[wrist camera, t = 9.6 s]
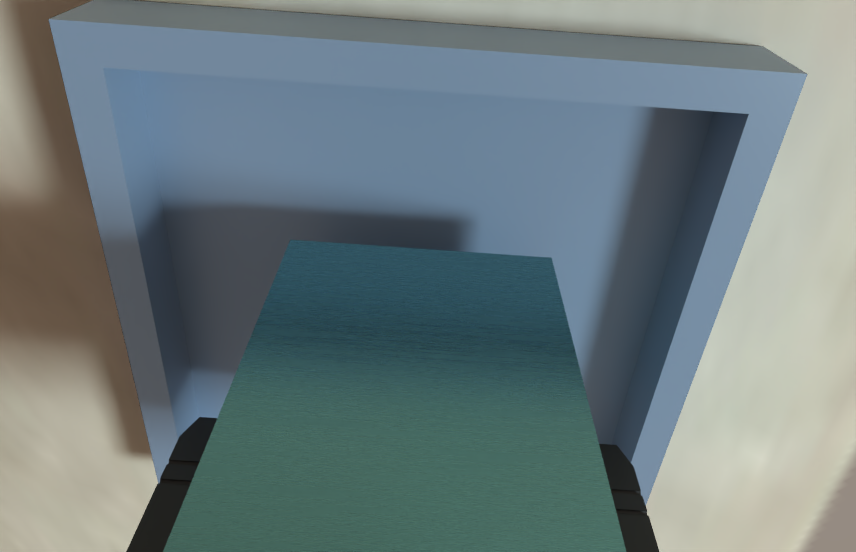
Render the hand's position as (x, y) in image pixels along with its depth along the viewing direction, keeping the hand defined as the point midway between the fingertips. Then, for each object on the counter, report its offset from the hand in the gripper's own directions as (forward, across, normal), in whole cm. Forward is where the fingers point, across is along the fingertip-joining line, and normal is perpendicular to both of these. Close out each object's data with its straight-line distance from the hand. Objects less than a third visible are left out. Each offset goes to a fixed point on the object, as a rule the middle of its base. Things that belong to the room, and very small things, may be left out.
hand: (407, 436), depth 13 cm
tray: (+5, 0, 0) cm, 5 cm away
